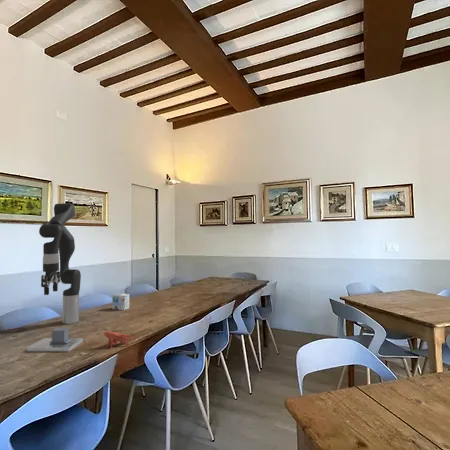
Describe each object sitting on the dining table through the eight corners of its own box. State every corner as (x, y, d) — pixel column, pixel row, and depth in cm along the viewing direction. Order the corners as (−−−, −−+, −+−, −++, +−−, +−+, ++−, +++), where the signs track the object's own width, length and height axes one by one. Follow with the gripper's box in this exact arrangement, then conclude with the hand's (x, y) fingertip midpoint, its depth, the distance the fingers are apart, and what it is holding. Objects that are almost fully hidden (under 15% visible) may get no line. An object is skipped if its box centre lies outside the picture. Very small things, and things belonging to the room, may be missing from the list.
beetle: (102, 350, 149) (103, 323, 150) (105, 342, 161) (105, 317, 161) (135, 347, 153) (135, 321, 154) (135, 339, 165) (135, 315, 166)
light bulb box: (111, 309, 234) (112, 294, 234) (117, 307, 241) (117, 293, 241) (124, 310, 231) (124, 295, 232) (129, 308, 238) (129, 293, 238)
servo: (53, 344, 156) (54, 328, 157) (70, 344, 156) (70, 328, 157) (49, 347, 152) (49, 330, 153) (66, 347, 152) (66, 330, 153)
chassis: (44, 341, 161) (44, 337, 161) (82, 341, 161) (82, 338, 161) (26, 351, 147) (26, 347, 147) (69, 351, 147) (69, 347, 147)
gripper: (51, 260, 172) (51, 290, 172) (35, 263, 158) (35, 296, 158) (64, 260, 172) (64, 290, 172) (51, 263, 158) (50, 295, 158)
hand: (51, 293), depth 165 cm, fingers open, 8 cm apart
